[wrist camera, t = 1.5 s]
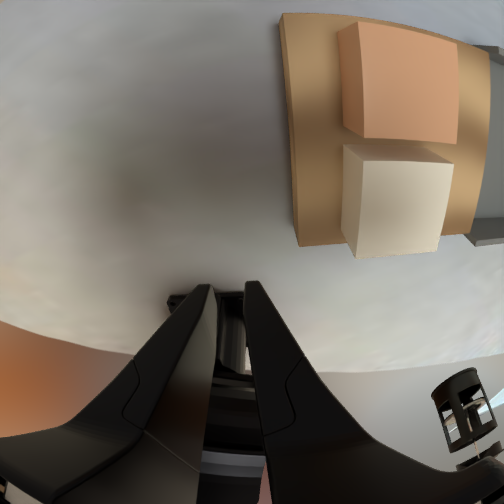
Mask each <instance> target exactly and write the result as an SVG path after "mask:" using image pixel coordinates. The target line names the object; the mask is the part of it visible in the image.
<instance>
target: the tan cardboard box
mask: <svg viewBox="0 0 504 504" xmlns="http://www.w3.org/2000/svg"><path fill="white" fill-rule="evenodd" d="M337 37H338V47H339V58H340V71H341V86H342V108H343V126H344V127H346V128H348V129H350V130H351V131H353V132H355V133H357V134H358V135H360V136H362V137H363V138H386V139H405V140H419V141H431V142H441V143H449V144H456V142H457V130H458V112H459V71H458V53H457V44H456V43H453V42H450V41H446V40H443V39H440V38H437V37H433V36H430V35H426V34H422V33H418V32H414V31H410V30H406V29H401V28H396V27H391V26H386V25H380V24H374V23H367V22H359V21H357V22H355V23H353V24H351V25H349V26H347V27H345V28H343V29H341V30H340V31H338V32H337Z"/></svg>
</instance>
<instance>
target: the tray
mask: <svg viewBox="0 0 504 504" xmlns="http://www.w3.org/2000/svg"><path fill="white" fill-rule="evenodd" d="M472 46H474V47H477V48H479V49H481V50H484V51H486V52H488V53H489V60H490V121H489V133H488V143H487V152H486V159H485V166H484V172H483V178H482V183H481V189H480V194H479V198H478V203H477V207H476V211H475V215H474V219H473V223H472V227H471V230H470V233H466V234H464V235H465V236H466V238H467V239H468V240H469V241H470V242H471V243H472V244H473V245H474V246H475V247H476V246H485V245H493V244H501V243H504V49H502V48H500V47H498V46H482V45H472Z"/></svg>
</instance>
